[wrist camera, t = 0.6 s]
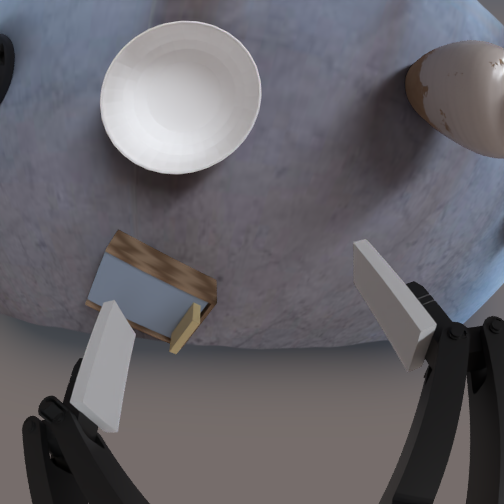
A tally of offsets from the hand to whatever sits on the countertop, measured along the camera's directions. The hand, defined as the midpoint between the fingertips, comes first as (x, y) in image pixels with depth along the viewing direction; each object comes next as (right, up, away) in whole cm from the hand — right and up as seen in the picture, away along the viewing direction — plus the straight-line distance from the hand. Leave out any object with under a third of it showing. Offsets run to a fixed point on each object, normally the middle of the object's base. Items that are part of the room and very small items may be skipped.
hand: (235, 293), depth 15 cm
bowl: (-8, +23, +19) cm, 30 cm away
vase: (+29, +28, +20) cm, 45 cm away
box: (-16, -3, +32) cm, 36 cm away
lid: (-16, -5, +28) cm, 32 cm away
